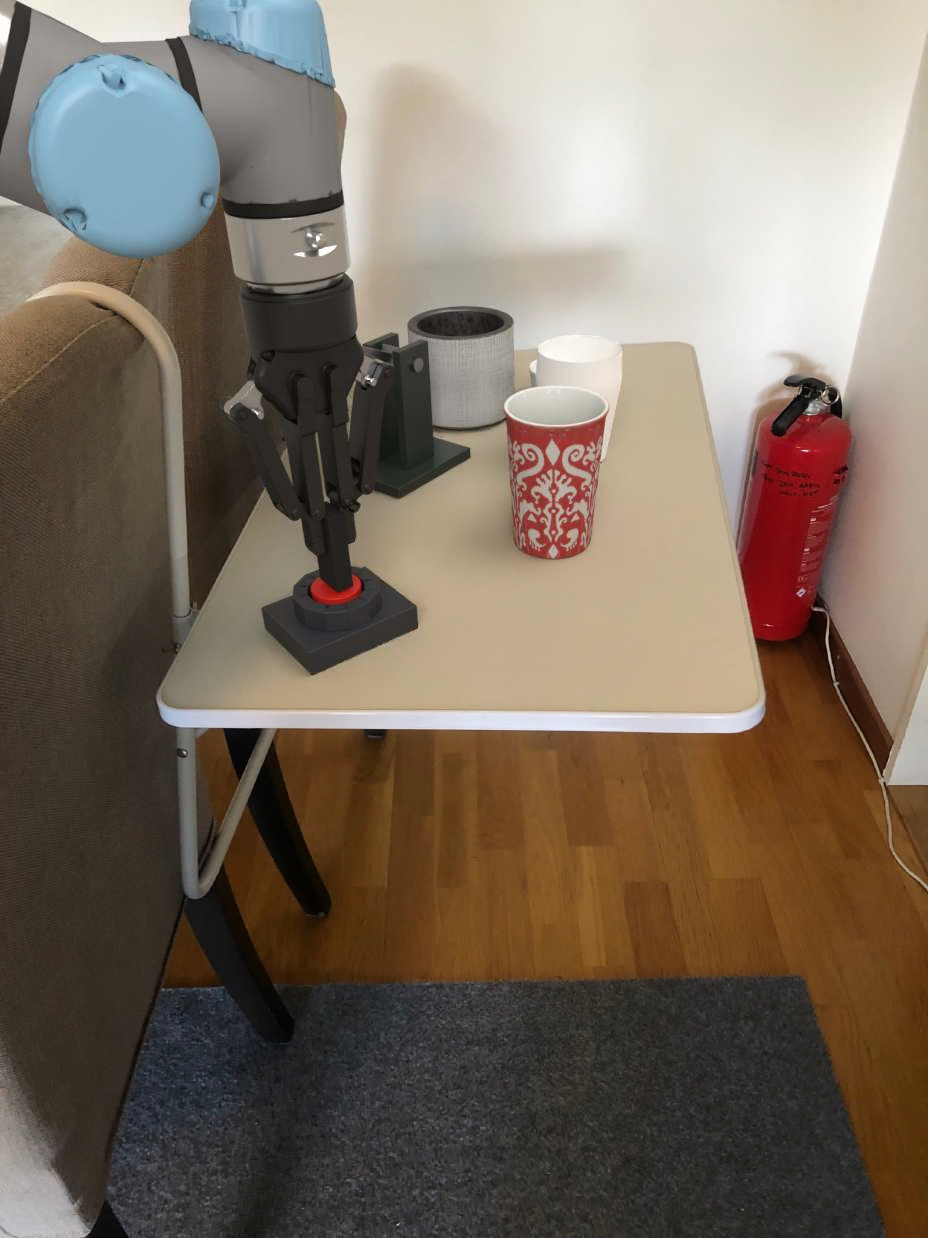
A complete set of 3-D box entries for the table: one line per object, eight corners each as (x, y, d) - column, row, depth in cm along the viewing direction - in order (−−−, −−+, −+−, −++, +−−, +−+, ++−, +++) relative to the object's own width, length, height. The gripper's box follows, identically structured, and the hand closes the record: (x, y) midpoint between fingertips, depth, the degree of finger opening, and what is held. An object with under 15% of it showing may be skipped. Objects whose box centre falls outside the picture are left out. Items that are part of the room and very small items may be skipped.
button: (329, 623, 72) (326, 605, 71) (304, 601, 75) (301, 583, 74) (372, 605, 74) (370, 587, 73) (346, 584, 77) (344, 566, 76)
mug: (603, 566, 82) (612, 424, 75) (502, 564, 83) (501, 424, 75) (597, 500, 93) (605, 370, 85) (508, 499, 93) (507, 370, 86)
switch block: (312, 675, 71) (305, 633, 68) (264, 629, 76) (257, 588, 74) (418, 627, 75) (415, 587, 73) (367, 587, 81) (363, 547, 79)
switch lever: (324, 356, 82) (329, 329, 82) (286, 346, 85) (291, 319, 84) (421, 378, 94) (426, 354, 93) (384, 368, 96) (389, 345, 96)
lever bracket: (399, 499, 94) (388, 367, 86) (336, 476, 99) (321, 350, 91) (470, 457, 102) (467, 333, 94) (409, 438, 107) (401, 319, 99)
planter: (534, 406, 113) (535, 314, 107) (475, 441, 105) (472, 345, 99) (452, 386, 120) (449, 299, 113) (391, 419, 111) (383, 326, 105)
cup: (621, 472, 98) (629, 361, 91) (536, 474, 98) (538, 364, 91) (611, 437, 105) (618, 332, 98) (532, 439, 105) (533, 335, 98)
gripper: (226, 310, 54) (285, 634, 68) (409, 269, 60) (430, 573, 74) (177, 285, 59) (241, 591, 73) (350, 249, 65) (380, 537, 79)
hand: (336, 582), depth 73 cm, fingers closed
